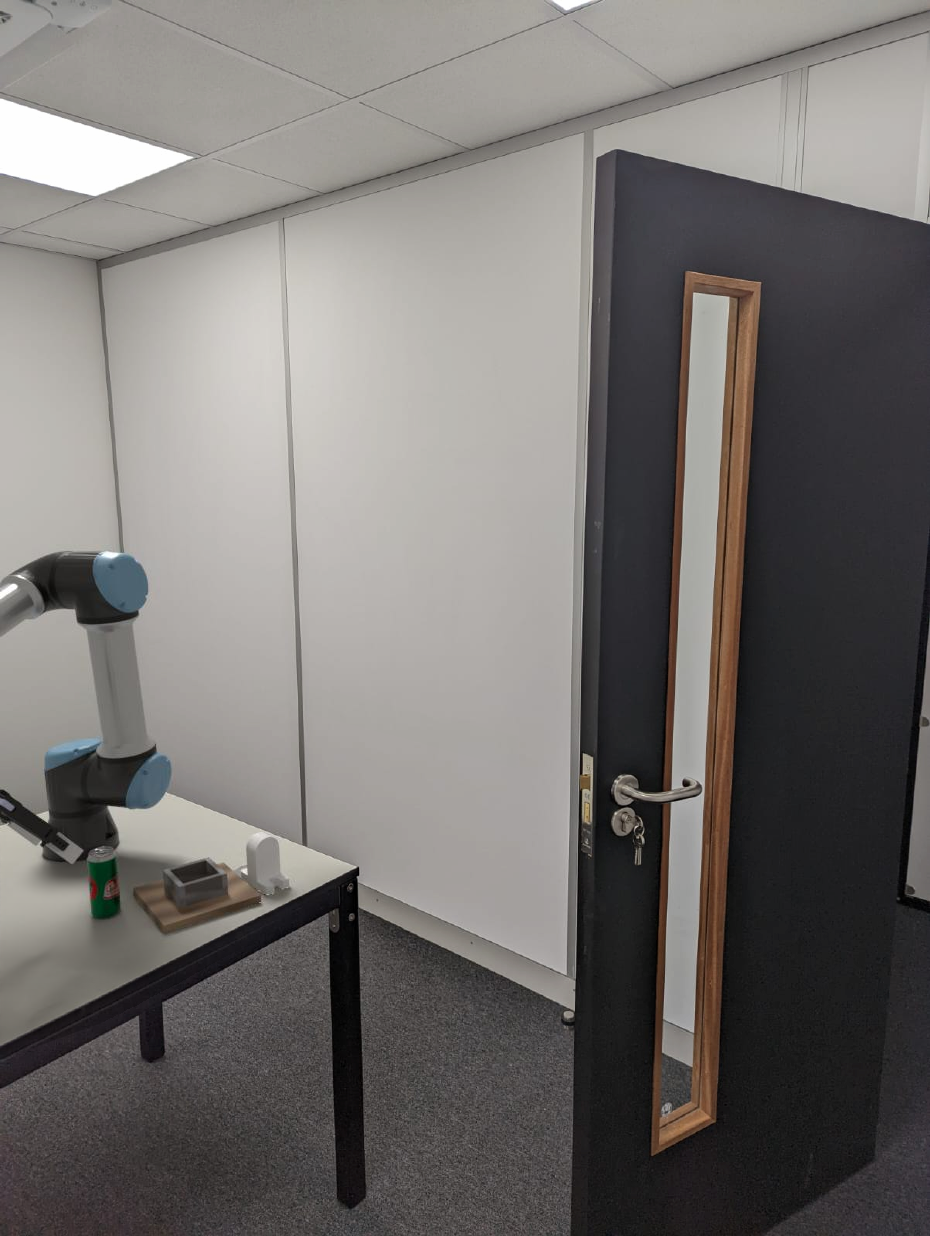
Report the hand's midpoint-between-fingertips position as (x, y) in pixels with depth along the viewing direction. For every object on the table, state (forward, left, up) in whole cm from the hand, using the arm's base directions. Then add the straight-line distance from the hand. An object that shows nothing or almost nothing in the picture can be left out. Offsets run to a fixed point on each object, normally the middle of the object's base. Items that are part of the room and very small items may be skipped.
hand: (58, 847), depth 149 cm
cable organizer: (+4, +36, -16) cm, 39 cm away
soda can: (-3, +8, -16) cm, 18 cm away
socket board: (+2, +23, -16) cm, 27 cm away
